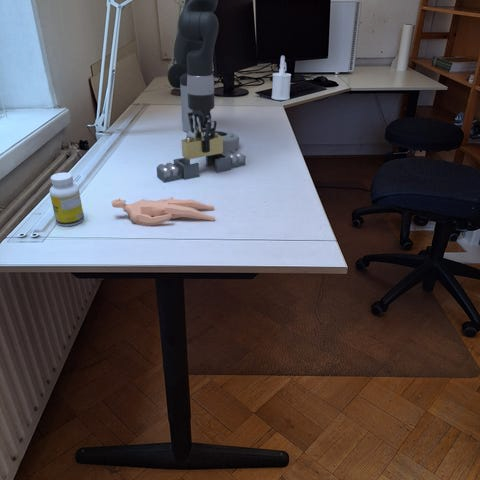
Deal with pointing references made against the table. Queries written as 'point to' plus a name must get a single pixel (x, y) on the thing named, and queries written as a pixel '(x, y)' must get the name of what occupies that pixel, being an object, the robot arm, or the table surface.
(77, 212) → the pill bottle
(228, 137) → the turbocharger housing
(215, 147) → the brass block with pins
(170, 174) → the chain ends
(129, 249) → the table surface
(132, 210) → the male figurine
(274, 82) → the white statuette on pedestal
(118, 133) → the table surface
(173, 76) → the dark grey lump
